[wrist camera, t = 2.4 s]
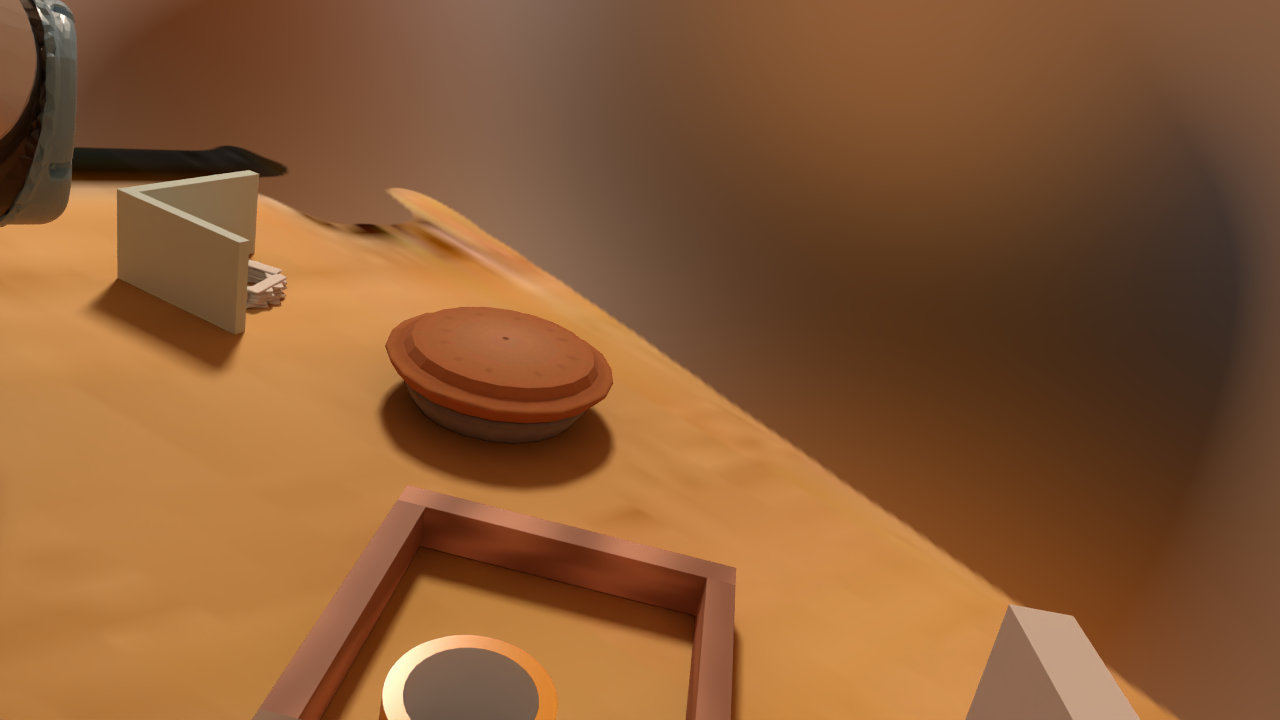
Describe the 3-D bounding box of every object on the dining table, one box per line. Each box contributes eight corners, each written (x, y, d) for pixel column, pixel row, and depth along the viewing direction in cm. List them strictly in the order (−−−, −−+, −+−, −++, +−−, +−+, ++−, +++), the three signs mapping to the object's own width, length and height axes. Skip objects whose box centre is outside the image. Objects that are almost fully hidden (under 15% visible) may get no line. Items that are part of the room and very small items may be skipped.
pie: (641, 452, 65) (657, 388, 63) (418, 471, 57) (428, 398, 55) (551, 351, 77) (563, 294, 75) (356, 354, 69) (363, 291, 67)
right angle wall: (234, 342, 67) (239, 242, 64) (117, 285, 71) (116, 188, 68) (353, 303, 78) (362, 215, 75) (245, 255, 82) (249, 170, 79)
